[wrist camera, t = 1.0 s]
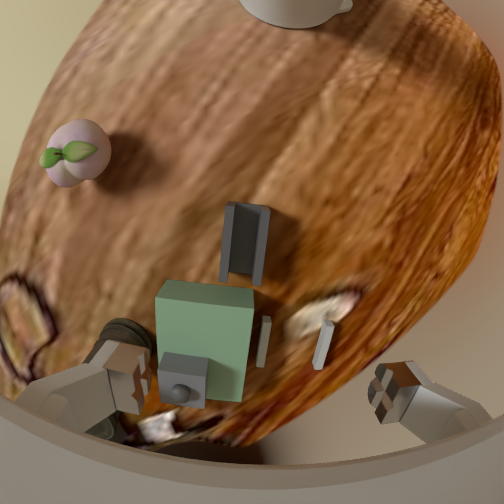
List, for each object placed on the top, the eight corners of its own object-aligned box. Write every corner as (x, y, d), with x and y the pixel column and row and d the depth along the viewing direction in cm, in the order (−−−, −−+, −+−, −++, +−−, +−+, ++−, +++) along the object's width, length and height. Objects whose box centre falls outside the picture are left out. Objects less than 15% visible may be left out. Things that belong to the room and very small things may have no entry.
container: (115, 307, 40) (57, 378, 23) (162, 340, 42) (126, 425, 24) (97, 342, 42) (47, 411, 25) (140, 371, 43) (105, 450, 26)
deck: (167, 279, 39) (141, 317, 28) (337, 296, 40) (364, 336, 29) (169, 368, 43) (152, 415, 32) (313, 380, 44) (327, 428, 34)
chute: (222, 267, 39) (218, 281, 34) (228, 201, 36) (225, 205, 31) (258, 271, 39) (260, 286, 34) (267, 205, 36) (270, 210, 32)
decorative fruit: (119, 115, 32) (82, 101, 23) (129, 170, 35) (92, 172, 25) (66, 137, 33) (23, 133, 23) (75, 189, 35) (33, 198, 25)
